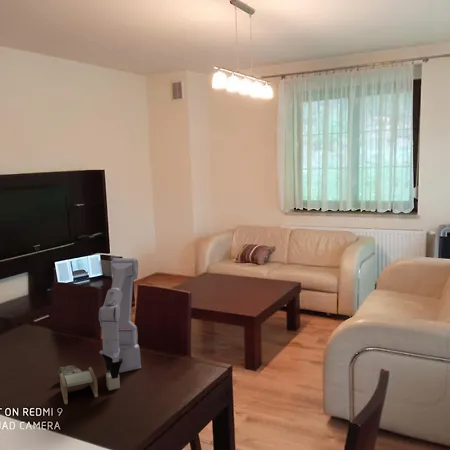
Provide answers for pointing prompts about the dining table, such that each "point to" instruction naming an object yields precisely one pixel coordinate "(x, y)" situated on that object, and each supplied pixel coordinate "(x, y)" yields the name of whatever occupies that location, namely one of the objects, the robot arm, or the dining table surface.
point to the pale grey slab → (78, 378)
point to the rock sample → (67, 370)
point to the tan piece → (92, 384)
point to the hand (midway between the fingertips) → (112, 373)
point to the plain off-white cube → (112, 382)
